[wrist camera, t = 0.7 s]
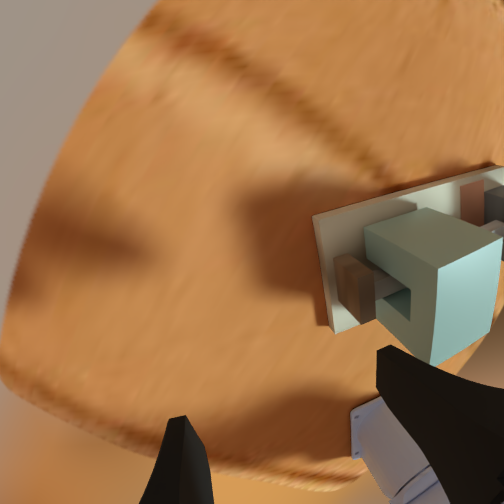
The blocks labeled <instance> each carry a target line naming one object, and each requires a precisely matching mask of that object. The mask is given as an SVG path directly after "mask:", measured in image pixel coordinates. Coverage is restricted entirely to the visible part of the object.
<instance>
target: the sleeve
mask: <svg viewBox="0 0 504 504" xmlns="http://www.w3.org/2000/svg"><path fill="white" fill-rule="evenodd" d="M363 229H364V238H365V247H366V257H367V259H368V260H370V261H371V262H372V263H374V264H375V265H377V266H378V267H380V268H381V269H382V270H384V271H385V272H387V273H388V274H390V275H391V276H392V277H394V278H395V279H397V280H398V281H399V282H401V283H402V284H404V285H405V286H406V287H407V288H404V289H402V290H400V291H397V292H395V293H393V294H390V295H388V296H386V297H383V298H381V299H379V300H376V301H375V303H376V319H377V320H378V321H379V322H380V323H381V324H383V325H384V326H385V327H386V328H387V329H388V330H389V331H390V332H391V333H392V334H393V335H394V336H395V337H396V338H397V339H398V340H399V341H400V342H401V343H402V344H403V345H404V346H405V347H406V348H407V349H408V350H409V351H410V352H411V353H412V354H413V355H414V356H415V357H416V358H418V359H420V360H422V361H424V362H426V363H428V364H430V365H432V366H434V367H435V366H437V365H439V364H440V363H442V362H444V361H445V360H447V359H449V358H450V357H452V356H453V355H455V354H457V353H458V352H460V351H461V350H463V349H464V348H466V347H468V346H469V345H471V344H472V343H474V342H475V341H477V340H478V339H480V338H481V337H482V336H484V335H485V334H487V333H488V332H489V331H490V327H491V322H492V317H493V312H494V306H495V300H496V294H497V288H498V281H499V273H500V265H501V255H502V244H503V237H502V236H499V235H497V234H495V233H492V232H490V231H488V230H485V229H483V228H480V227H478V226H475V225H473V224H470V223H468V222H465V221H463V220H460V219H458V218H455V217H452V216H450V215H447V214H444V213H442V212H439V211H436V210H434V209H431V208H428V207H425V208H422V209H419V210H416V211H412V212H409V213H406V214H403V215H400V216H397V217H394V218H391V219H388V220H384V221H381V222H378V223H375V224H372V225H369V226H366V227H363Z"/></svg>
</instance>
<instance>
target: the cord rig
mask: <svg viewBox="0 0 504 504" xmlns="http://www.w3.org/2000/svg"><path fill="white" fill-rule="evenodd" d="M425 207H428V208H431V209H434V210H436V211H439V212H442V213H444V214H447V215H450V216H452V217H455V218H458V219H460V220H463V221H465V222H468V223H470V224H473V225H475V226H478V227H480V228H483V229H485V230H488V231H490V232H492V233H495V234H497V235H499V236H502V237H503V244H502V255H501V260H502V261H504V166H499V165H495V166H491V167H487V168H483V169H479V170H475V171H472V172H468V173H464V174H460V175H457V176H453V177H449V178H445V179H442V180H438V181H434V182H431V183H427V184H423V185H420V186H416V187H412V188H409V189H405V190H402V191H398V192H394V193H391V194H387V195H384V196H380V197H376V198H373V199H369V200H366V201H362V202H359V203H355V204H352V205H348V206H345V207H341V208H338V209H334V210H331V211H327V212H324V213H320V214H317V215H313V216H312V221H313V226H314V232H315V237H316V243H317V249H318V255H319V261H320V267H321V274H322V280H323V287H324V293H325V300H326V307H327V314H328V322H329V327H330V328H331V330H332V331H333V332H334V333H335V334H337V333H339V332H342V331H345V330H347V329H349V328H352V327H354V326H357V325H359V324H361V325H362V324H364V323H367V322H369V321H371V320H374V319H376V303H375V301H376V300H379V299H381V298H383V297H386V296H388V295H390V294H393V293H395V292H397V291H400V290H402V289H404V288H407V287H406V286H405V285H404V284H402V283H401V282H399V281H398V280H397V279H395V278H394V277H392V276H391V275H390V274H388V273H387V272H385V271H384V270H382V269H381V268H380V267H378V266H377V265H375V264H374V263H372V262H371V261H370V260H368V259H367V257H366V247H365V238H364V229H363V227H366V226H369V225H372V224H375V223H378V222H381V221H384V220H388V219H391V218H394V217H397V216H400V215H403V214H406V213H409V212H412V211H416V210H419V209H422V208H425Z"/></svg>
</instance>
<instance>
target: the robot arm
mask: <svg viewBox="0 0 504 504" xmlns="http://www.w3.org/2000/svg"><path fill="white" fill-rule="evenodd" d="M376 388H377V390H378V391H379V393H380V395H381V396H380V397H378V398H376V399H374V400H372V401H370V402H368V403H365V404H363V405H361V406H359V407H357V408H354V409H353V410H352V411H351V413H350V420H351V454H352V459H353V460H356V459H359V458H361V457H362V458H363V460H364V462H365V464H366V465H367V467H368V469H369V470H370V472H371V474H372V475H373V477H374V479H375V480H376V482H377V484H378V485H379V487H380V489H381V491H382V492H383V493H384V495H386V496H387V497H388V498H390V499H391V500H390V501H389V503H390V504H504V389H501V388H496V387H491V386H487V385H483V384H480V383H476V382H473V381H469V380H466V379H463V378H461V377H458V376H455V375H453V374H450V373H448V372H445V371H443V370H441V369H438V368H436V367H434V366H432V365H430V364H428V363H426V362H424V361H422V360H420V359H418V358H416V357H414V356H412V355H410V354H408V353H406V352H404V351H402V350H400V349H398V348H396V347H394V346H392V345H388V346H386V347H384V348H382V349H379V350H377V370H376ZM139 504H214V499H213V491H212V483H211V474H210V468H209V463H208V459H207V455H206V451H205V447H204V445H203V443H202V441H201V440H200V438H199V437H198V435H197V433H196V432H195V430H194V428H193V427H192V425H191V423H190V422H189V420H188V418H187V417H186V415H184V416H180V417H175V418H171V419H169V420H168V423H167V427H166V431H165V434H164V438H163V441H162V445H161V448H160V451H159V454H158V457H157V460H156V463H155V466H154V469H153V472H152V474H151V477H150V479H149V482H148V484H147V487H146V489H145V491H144V494H143V496H142V498H141V500H140V502H139Z"/></svg>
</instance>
